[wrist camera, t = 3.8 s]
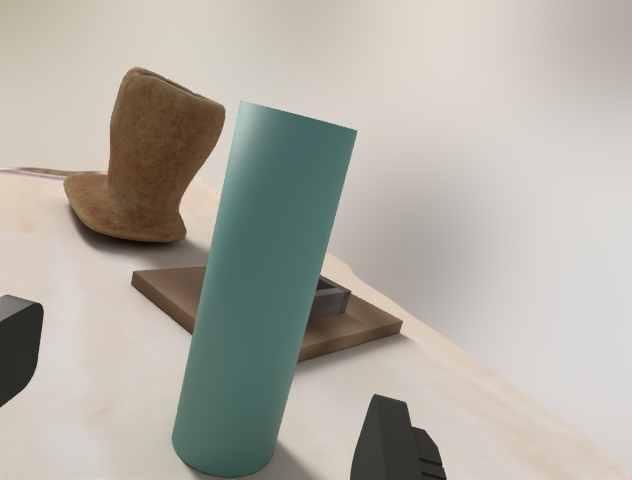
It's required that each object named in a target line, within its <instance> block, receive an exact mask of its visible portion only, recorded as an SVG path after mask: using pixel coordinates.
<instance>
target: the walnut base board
mask: <svg viewBox="0 0 632 480" xmlns="http://www.w3.org/2000/svg"><path fill="white" fill-rule="evenodd" d="M206 268H207V267H193V268H176V269H160V270H143V271H133V276H132V282H131V284H132V285H133V286H134V287H135V288H136V289H138V290H139V291H140V292H141V293H143V294H144V295H145V296H146V297H147V298H149V299H150V300H151V301H152V302H154V303H155V304H156V305H157V306H158V307H160V308H161V309H162V310H163V311H164V312H166V313H167V314H168V315H169V316H171V317H172V318H173V319H174V320H175V321H177V322H178V323H179V324H180V325H182V326H183V327H184V328H185V329H186V330H188V331H189V332H190V333H191V334H193V331H194V326H195V321H196V316H197V312H198V307H199V302H200V297H201V292H202V287H203V282H204V277H205V272H206ZM402 323H403V321H402V320H400V319H398V318H396V317H394V316H393V315H391V314H389V313H387V312H385V311H383V310H381V309H379V308H377V307H376V306H374V305H372V304H370V303H368V302H366V301H364V300H362V299H360V298H359V297H357V296H355V295H353V294H351V291H350V290H348V289H346V288H344V287H342V286H340V285H339V284H337V283H335V282H333V281H331V280H329V279H327V278H325V277H323V276H321V275H320V276H319V280H318V284H317V288H316V291H315V295H314V299H313V303H312V307H311V310H310V314H309V318H308V322H307V326H306V330H305V333H304V337H303V341H302V345H301V349H300V352H299V356H298V360H297V362H300V361H303V360H307V359H310V358H314V357H317V356H320V355H324V354H327V353H331V352H334V351H338V350H341V349H344V348H348V347H351V346H355V345H358V344H362V343H365V342H368V341H372V340H375V339H379V338H382V337H385V336H389V335H392V334H396V333H399V332H400V329H401V326H402Z"/></svg>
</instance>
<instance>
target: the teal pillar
mask: <svg viewBox="0 0 632 480" xmlns="http://www.w3.org/2000/svg"><path fill="white" fill-rule="evenodd" d="M356 135H357V131H356V130H353V129H349V128H346V127H343V126H338V125H335V124H331V123H327V122H324V121H320V120H316V119H312V118H309V117H304V116H301V115H297V114H293V113H289V112H285V111H281V110H277V109H273V108H269V107H265V106H261V105H257V104H252V103H248V102H244V101H241V102H240V106H239V111H238V116H237V122H236V126H235V131H234V136H233V140H232V145H231V150H230V155H229V160H228V165H227V170H226V175H225V180H224V184H223V189H222V194H221V199H220V204H219V209H218V214H217V219H216V224H215V228H214V233H213V238H212V243H211V248H210V253H209V258H208V263H207V268H206V272H205V277H204V282H203V287H202V292H201V297H200V302H199V307H198V312H197V316H196V321H195V326H194V331H193V336H192V341H191V346H190V351H189V356H188V360H187V365H186V370H185V375H184V380H183V385H182V390H181V395H180V400H179V405H178V409H177V414H176V419H175V424H174V429H173V434H172V442H173V446H174V449H175V451H176V453H177V454H178V455H179V457H180V458H181V459H182V460H183V461H184V462H186V463H187V464H188V465H189V466H191V467H193V468H195V469H196V470H199V471H201V472H204V473H207V474H210V475H214V476H221V477H239V476H245V475H248V474H251V473H254V472H256V471H258V470H260V469H261V468H263V467H264V466H265V465H266V464H267V463H268V462H269V461H270V459H271V457H272V455H273V452H274V448H275V444H276V440H277V436H278V432H279V429H280V425H281V421H282V417H283V413H284V410H285V406H286V402H287V398H288V394H289V391H290V387H291V383H292V379H293V375H294V371H295V368H296V364H297V360H298V356H299V352H300V349H301V345H302V341H303V337H304V333H305V330H306V326H307V322H308V318H309V314H310V310H311V307H312V303H313V299H314V295H315V291H316V288H317V284H318V280H319V276H320V272H321V269H322V265H323V261H324V257H325V253H326V249H327V245H328V242H329V238H330V234H331V230H332V226H333V223H334V219H335V215H336V211H337V208H338V204H339V200H340V196H341V192H342V188H343V184H344V181H345V176H346V173H347V169H348V165H349V162H350V158H351V154H352V150H353V147H354V143H355V139H356Z"/></svg>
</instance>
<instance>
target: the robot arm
mask: <svg viewBox="0 0 632 480" xmlns="http://www.w3.org/2000/svg"><path fill="white" fill-rule="evenodd" d="M43 315H44V310H43V307H42V305H41V304H40V303H37V302H33V301H29V300H26V299H22V298H18V297H14V296H11V295H4V296H2V297H0V407H2V406H3V405H4V404H5V403H7V402H8V401H9V400H11V399H12V398H13V397H14V396H16V395H17V394H18V393H19V392H21V391H22V390H23V389H24V388H25V387H26V386H27V384H28V383H29V382H30V380H31V378H32V376H33V374H34V372H35V369H36V366H37V361H38V353H39V346H40V338H41V331H42V323H43ZM446 479H447V478H446V475H445V471H444V468H443V467H442V461H441V457H440V454H439V450H438V447H437V446H436V444H435V443H434V442H433V440H432V439H431V438H430V436H429V435H428V434H427V433H426V431H425V430H423V429H419V428H416V427H412V426H411V421H410V417H409V412H408V408H407V404H406V402H403V401H400V400H396V399H392V398H388V397H385V396H381V395H377V394H374V396H373V397H372V399H371V402H370V405H369V408H368V411H367V414H366V417H365V421H364V424H363V427H362V430H361V433H360V436H359V440H358V443H357V446H356V449H355V453H354V457H353V461H352V467H351V475H350V480H446Z"/></svg>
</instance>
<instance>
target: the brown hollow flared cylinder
mask: <svg viewBox="0 0 632 480" xmlns="http://www.w3.org/2000/svg"><path fill="white" fill-rule="evenodd" d="M224 121H225V108H224V106H223V105H221V104H219V103H217V102H215V101H212V100H210V99H208V98H205V97H203V96H201V95H199V94H196V93H193V92H192V91H190V90H189V89H187V88H185V87H183V86H181V85H179V84H177V83H175V82H173V81H171V80H169V79H166V78H164V77H163V76H160V75H159V74H156V73H154V72H151V71H149V70H146V69H143V68H140V67H134V68H132V69H131V70H129V71H128V72H127V74H126V75H125V76H124V78H123V80H122V83H121V85H120V88H119V92H118V95H117V99H116V102H115V105H114V109H113V112H112V116H111V122H110V160H109V169H108V174H107V175H102V174H82V175H75V176H72V177H68V178H66V179H65V181H64V188H65V192H66V195H67V197H68V200H69V202H70V204H71V206H72V208H73V210H74V211H75V213H76V214H77V216H78V217H79V218H80V220H81V221H82V222H83V223H84V224H85V225H86V226H88V227H89V228H91V229H93V230H94V231H96V232H99V233H102V234H105V235H109V236H113V237H118V238H123V239H129V240H137V241H147V242H174V241H179V240H182V239H184V238H185V236H186V233H187V232H186V228H185V226H184V222H183V220H182V218H181V215H180V213H179V204H180V201H181V198H182V196H183V194H184V192H185V191H186V189H187V187H188V185H189V184H190V182H191V181H192V179H193V178H194V176H195V174H196V173H197V172H198V170H199V169H200V168H201V167H202V165H203V164H204V162H205V161H206V159H207V158H208V157H209V155H210V154H211V152H212V150H213V149H214V147H215V146H216V143H217V141H218V139H219V137H220V134H221V132H222V128H223V125H224Z"/></svg>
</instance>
